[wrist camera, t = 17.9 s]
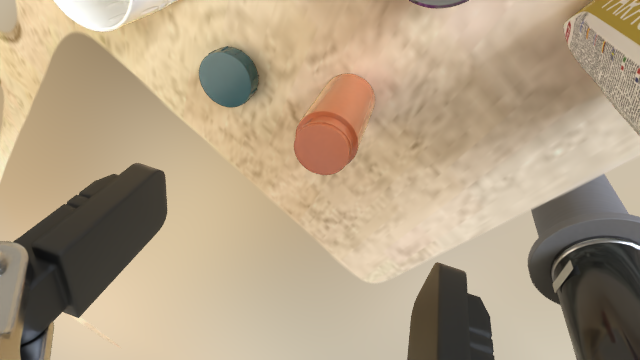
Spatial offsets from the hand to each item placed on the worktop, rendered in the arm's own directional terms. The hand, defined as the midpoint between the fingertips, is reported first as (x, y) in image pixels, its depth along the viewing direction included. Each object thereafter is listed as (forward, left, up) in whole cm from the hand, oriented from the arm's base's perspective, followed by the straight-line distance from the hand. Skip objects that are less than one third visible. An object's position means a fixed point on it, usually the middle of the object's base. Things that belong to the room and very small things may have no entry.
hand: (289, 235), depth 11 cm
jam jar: (-2, +8, -28) cm, 29 cm away
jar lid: (+8, +15, -27) cm, 32 cm away
